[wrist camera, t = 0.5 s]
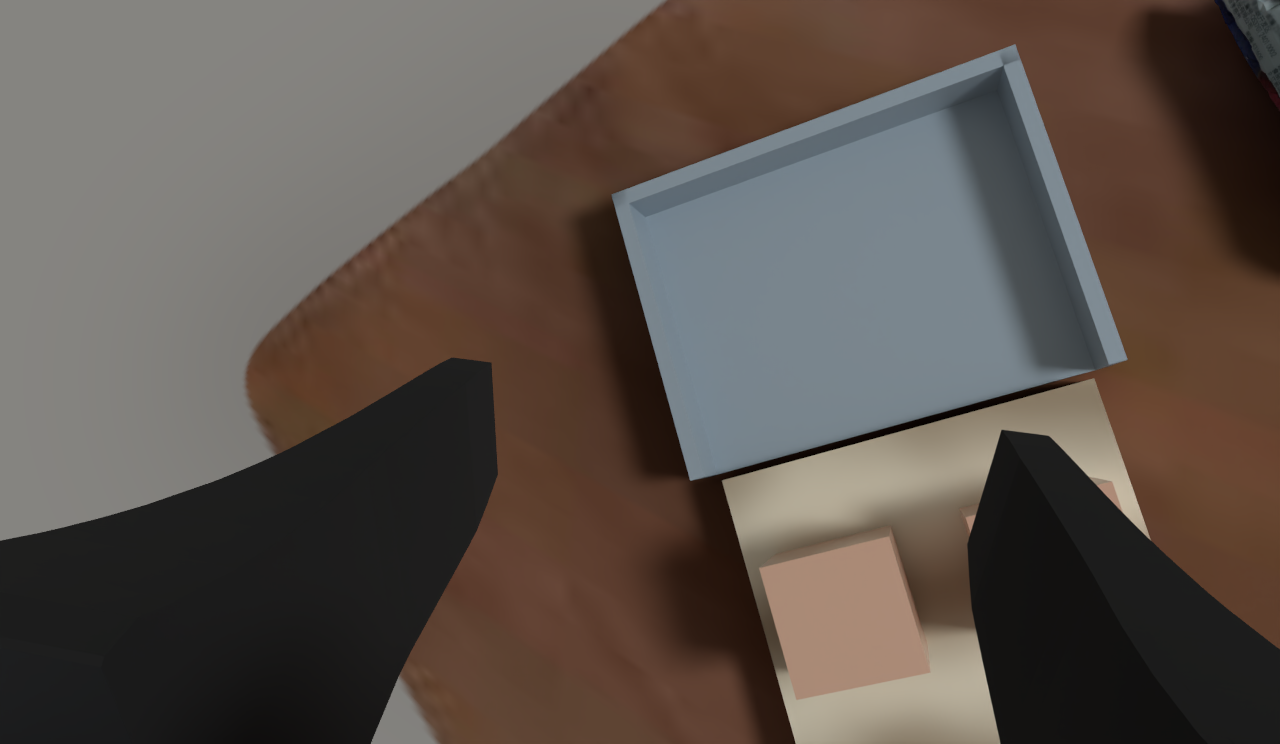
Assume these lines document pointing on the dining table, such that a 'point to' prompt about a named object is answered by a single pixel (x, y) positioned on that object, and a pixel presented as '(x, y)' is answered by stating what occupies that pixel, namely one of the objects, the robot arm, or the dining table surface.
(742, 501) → the board
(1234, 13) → the grey green pillow
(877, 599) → the wooden cube
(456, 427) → the robot arm
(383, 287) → the dining table surface
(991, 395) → the tray
